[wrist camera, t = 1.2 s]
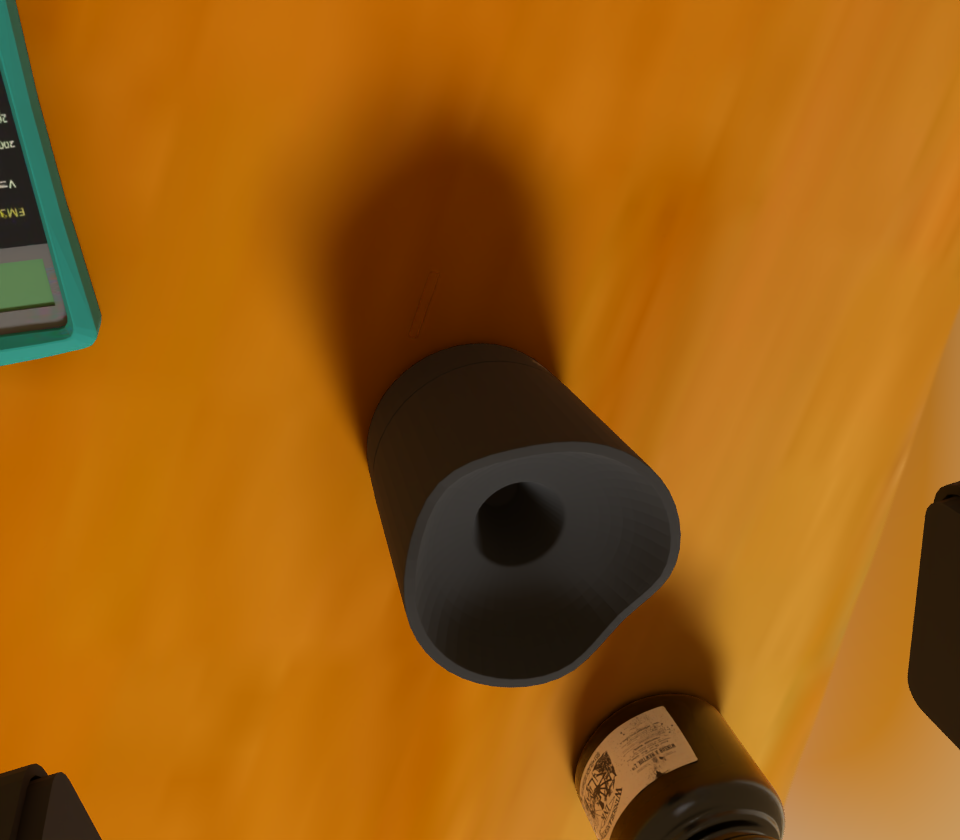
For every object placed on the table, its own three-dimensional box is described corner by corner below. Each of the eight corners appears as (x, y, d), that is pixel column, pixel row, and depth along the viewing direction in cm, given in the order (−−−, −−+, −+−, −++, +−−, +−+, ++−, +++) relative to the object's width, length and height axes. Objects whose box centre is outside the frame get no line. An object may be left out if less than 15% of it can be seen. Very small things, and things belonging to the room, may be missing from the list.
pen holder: (574, 508, 41) (675, 650, 32) (369, 552, 39) (419, 716, 30) (570, 312, 37) (686, 416, 28) (340, 351, 35) (388, 474, 26)
